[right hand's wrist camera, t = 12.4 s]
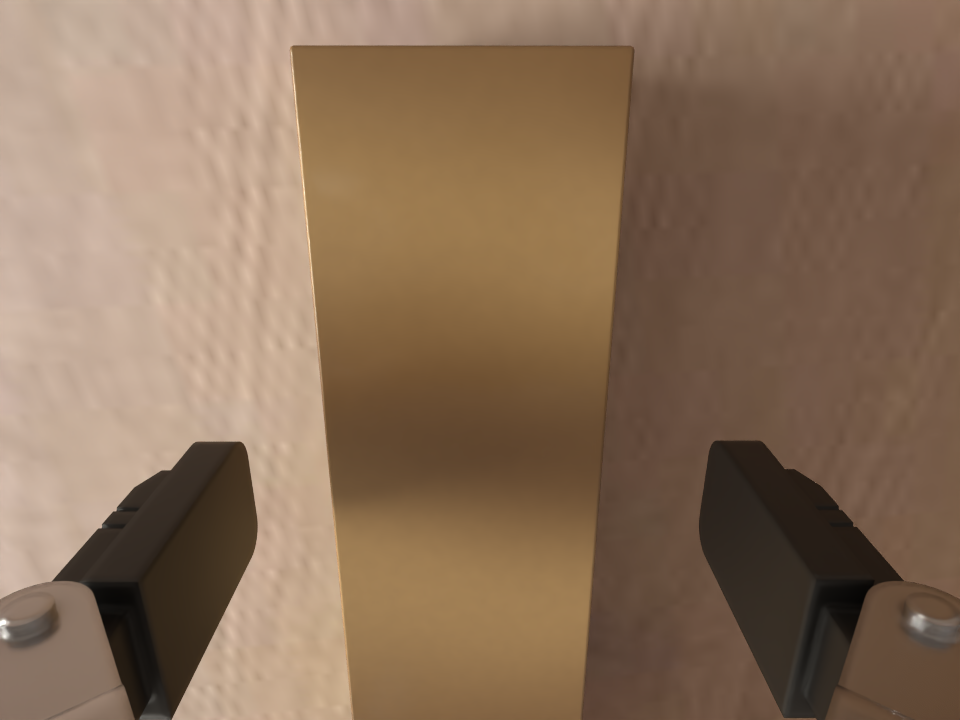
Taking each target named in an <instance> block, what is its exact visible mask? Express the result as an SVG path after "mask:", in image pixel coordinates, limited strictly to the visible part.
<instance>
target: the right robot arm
mask: <svg viewBox="0 0 960 720" xmlns="http://www.w3.org/2000/svg"><path fill="white" fill-rule="evenodd" d="M257 526H258V525H257V514H256V507H255V501H254V494H253V487H252V480H251V474H250V467H249V460H248V454H247V450H246V448H245V446H244V444H243V443H242V442H195V443H194V444H193V445H192V446H191V447H190V448H189V449H188V450H187V452H186V453H185V454H184V455H183V456H182V458H181V459H180V460H179V461H178V462H177V464H176V465H175V466H174V467H173V469H172V470H171V471H160V472H159V473H157V474H155V475H154V476H152V477H151V478H149V479H147V480H146V481H144V482H143V483H141V484H139V485H138V486H136V487H135V488H134V489H133V490H132V491H131V492H130V493H129V494H128V495H127V497H126V498H125V499H124V500H123V501H122V502H121V503H120V505H119V506H118V507H117V511H116V512H113V513H112V514H111V515H110V516H109V517H108V518H107V519H106V520H105V522H104V523H103V524H102V529H98V530H97V531H96V532H95V533H94V534H93V535H92V536H91V538H90V539H89V540H88V541H87V542H86V543H85V544H84V545H83V547H82V548H81V549H80V550H79V551H78V552H77V553H76V555H75V556H74V557H73V558H72V559H71V560H70V561H69V563H68V564H67V565H66V566H65V567H64V568H63V569H62V570H61V572H60V573H59V574H58V575H57V576H56V577H55V578H54V580H53V581H52V582H46V583H42V584H37V585H34V586H30V587H27V588H24V589H22V590H19V591H17V592H14V593H12V594H10V595H8V596H6V597H4V598H2V599H0V720H171V719H172V717H173V715H174V713H175V711H176V709H177V707H178V705H179V703H180V701H181V699H182V697H183V695H184V693H185V691H186V689H187V687H188V685H189V683H190V681H191V679H192V677H193V675H194V673H195V671H196V669H197V667H198V665H199V663H200V661H201V659H202V657H203V655H204V653H205V651H206V649H207V647H208V645H209V643H210V641H211V639H212V636H213V634H214V632H215V630H216V628H217V626H218V624H219V622H220V620H221V618H222V616H223V614H224V612H225V610H226V608H227V606H228V604H229V602H230V600H231V598H232V596H233V594H234V592H235V590H236V588H237V586H238V584H239V582H240V580H241V578H242V576H243V574H244V572H245V570H246V568H247V566H248V564H249V562H250V560H251V558H252V555H253V552H254V549H255V545H256V540H257ZM699 533H700V541H701V545H702V549H703V552H704V555H705V557H706V559H707V561H708V563H709V565H710V567H711V569H712V571H713V573H714V576H715V578H716V580H717V582H718V584H719V586H720V588H721V590H722V592H723V594H724V596H725V598H726V600H727V602H728V604H729V606H730V608H731V610H732V612H733V614H734V617H735V619H736V621H737V623H738V625H739V627H740V629H741V631H742V633H743V635H744V637H745V639H746V641H747V643H748V645H749V647H750V649H751V651H752V653H753V655H754V657H755V660H756V662H757V664H758V666H759V668H760V670H761V672H762V674H763V676H764V678H765V680H766V682H767V684H768V686H769V688H770V690H771V692H772V694H773V696H774V698H775V701H776V703H777V705H778V707H779V709H780V711H781V713H782V715H783V717H784V718H816V719H817V720H960V599H958V598H956V597H954V596H952V595H950V594H948V593H946V592H943V591H941V590H938V589H936V588H933V587H930V586H926V585H923V584H918V583H914V582H906V581H903V579H902V578H901V577H900V576H899V575H898V574H897V572H896V571H895V570H894V569H893V568H892V567H891V566H890V564H889V563H888V562H887V561H886V560H885V559H884V558H883V556H882V555H881V554H880V553H879V552H878V551H877V550H876V548H875V547H874V546H873V545H872V544H871V543H870V542H869V540H868V539H867V538H866V537H865V536H864V535H863V534H862V532H861V531H860V530H859V529H858V528H857V527H853V522H852V521H851V520H850V519H849V517H848V516H847V515H846V514H845V513H844V512H843V511H842V510H839V506H838V505H837V504H836V503H835V501H834V500H833V499H832V498H831V497H830V496H829V495H828V493H827V492H826V491H825V490H824V489H823V488H822V487H821V486H820V485H818V484H817V483H815V482H814V481H812V480H810V479H809V478H807V477H806V476H804V475H802V474H801V473H799V472H798V471H796V470H794V469H784V468H783V466H782V465H781V464H780V463H779V461H778V460H777V459H776V458H775V457H774V455H773V454H772V453H771V452H770V450H769V449H768V448H767V447H766V445H765V444H764V443H763V442H761V441H715V442H713V444H712V445H711V448H710V451H709V456H708V463H707V470H706V476H705V483H704V490H703V497H702V504H701V510H700V518H699Z"/></svg>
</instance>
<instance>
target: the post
mask: <svg viewBox="0 0 960 720" xmlns="http://www.w3.org/2000/svg"><path fill="white" fill-rule="evenodd" d="M290 58H291V69H292V80H293V91H294V101H295V112H296V123H297V133H298V144H299V155H300V165H301V176H302V187H303V198H304V208H305V219H306V230H307V240H308V251H309V262H310V273H311V283H312V294H313V305H314V315H315V326H316V337H317V347H318V358H319V369H320V380H321V390H322V401H323V412H324V422H325V433H326V444H327V455H328V465H329V476H330V487H331V497H332V508H333V519H334V529H335V540H336V551H337V562H338V572H339V583H340V594H341V604H342V615H343V626H344V637H345V647H346V658H347V669H348V679H349V690H350V701H351V711H352V720H582V716H583V703H584V690H585V678H586V665H587V652H588V639H589V626H590V613H591V601H592V588H593V575H594V562H595V549H596V537H597V524H598V511H599V498H600V485H601V473H602V460H603V447H604V434H605V421H606V408H607V396H608V383H609V370H610V357H611V344H612V332H613V319H614V306H615V293H616V280H617V267H618V255H619V242H620V229H621V216H622V203H623V191H624V178H625V165H626V152H627V139H628V127H629V114H630V101H631V88H632V75H633V62H634V47H632V46H291V47H290Z"/></svg>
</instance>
